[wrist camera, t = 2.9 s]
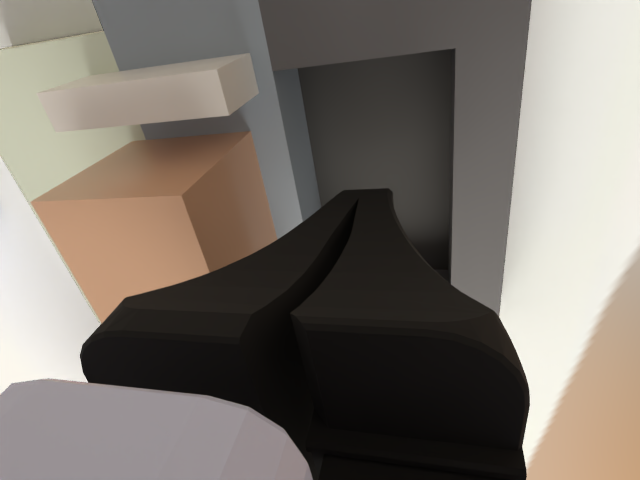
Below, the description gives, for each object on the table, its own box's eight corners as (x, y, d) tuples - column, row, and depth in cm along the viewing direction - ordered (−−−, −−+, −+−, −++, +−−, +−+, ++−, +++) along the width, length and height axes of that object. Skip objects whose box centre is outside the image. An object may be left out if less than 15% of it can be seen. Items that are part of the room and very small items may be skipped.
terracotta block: (184, 270, 15) (118, 352, 12) (132, 141, 13) (30, 201, 10) (285, 271, 14) (242, 361, 11) (250, 131, 12) (181, 195, 8)
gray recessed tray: (247, 306, 19) (225, 346, 17) (143, -16, 13) (87, -12, 10) (486, 315, 17) (494, 364, 15) (519, -92, 10) (542, -107, 8)
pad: (131, 286, 20) (98, 322, 18) (11, 46, 15) (-57, 60, 13) (242, 289, 19) (219, 329, 17) (155, 21, 13) (104, 32, 11)
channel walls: (190, 309, 17) (163, 347, 15) (90, 75, 12) (35, 93, 10) (308, 314, 15) (293, 356, 14) (249, 52, 10) (217, 69, 9)
